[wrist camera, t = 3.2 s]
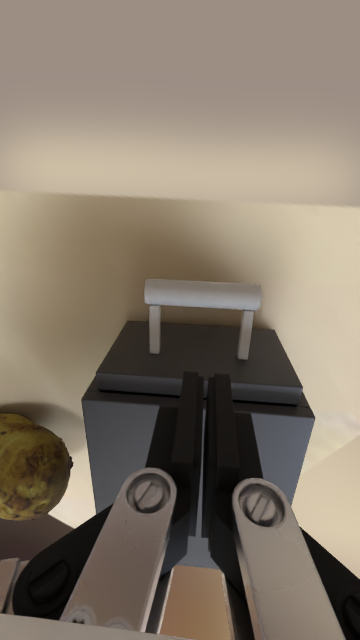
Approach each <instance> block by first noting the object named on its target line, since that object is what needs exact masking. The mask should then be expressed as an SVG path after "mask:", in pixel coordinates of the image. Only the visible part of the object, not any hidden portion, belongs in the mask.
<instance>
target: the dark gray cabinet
mask: <svg viewBox="0 0 360 640" xmlns="http://www.w3.org/2000/svg"><path fill="white" fill-rule="evenodd" d="M179 401H180V398H171V397H158V396H145V395H132V394H118V391H111V390H98V389H97V380H96V376H95V377H94V379H93V381H92V382H91V384H90V386H89V387H88V389H87V391H86V393H85V394H84V396H83V398H82V408H83V416H84V423H85V431H86V439H87V447H88V454H89V462H90V470H91V477H92V485H93V493H94V500H95V508H96V514H98V513H99V512H101V511H102V510H104V509H105V508H107V507H108V506H110V505H111V504H113V503H114V502H115V500H116V498H117V496H118V494H119V491H120V489H121V487H122V485H123V483H124V482H125V480H126V479H127V478H128V477H129V476H130V475H131V474H132V473H134V472H136V471H138V470H140V469H143V468H145V465H146V461H147V457H148V452H149V448H150V444H151V440H152V435H153V431H154V427H155V423H156V418H157V414H158V410H159V406H160V405H163V406H175V407H179ZM206 402H207V400H203V430H202V461H201V476H200V488H199V501H198V513H197V525H196V537H192V536H188V547H187V555H186V556H185V557H183V558H182V559H181V560H180V561H179V562H178V563H177V564H176V565H184V566H193V567H203V568H211V569H220V568H219V567H218V566H217V565H216V563H215V562H214V561H213V560H212V558H211V557H210V552H208V538H201V528H202V486H203V443H204V427H205V415H206ZM233 407H234V412H245V413H251V416H252V420H253V425H254V431H255V436H256V441H257V446H258V452H259V457H260V462H261V468H262V473H263V478H264V480H266V481H269V482H271V483H272V484H274V485H275V486H277V487H278V488H279V489H280V490H281V491H282V492H283V493H284V494H285V496H286V497H287V499H288V501H289V503H290V505H292V501H293V497H294V494H295V490H296V487H297V483H298V479H299V476H300V472H301V468H302V465H303V461H304V457H305V454H306V450H307V446H308V443H309V439H310V435H311V432H312V428H313V424H314V421H315V416H314V414H313V412H312V410H311V408H310V406H309V404H308V402H307V400H306V398H305V395H304V393H303V391H302V394H301V398H300V402H299V404H298V405H296V404H283V403H276V405H263V404H250V403H237V402H233Z"/></svg>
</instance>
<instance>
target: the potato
mask: <svg viewBox="0 0 360 640" xmlns="http://www.w3.org/2000/svg"><path fill="white" fill-rule="evenodd" d="M72 467H73V462H72V457H71V456H69V453H68V450H67V448H66V446H65V443H64V442H63V441H62V439H61V438H59V437H58V436H56V435H55V434H54V433H53V432H51V431H50V430H48V429H46V428H44V427H42V426H39V425H36V424H35V423H34V422H32V421H31V420H29V419H27V418H25V417H23V416H21V415H17V414H0V517H1V518H4V519H11V520H28V519H32V520H34V519H35V518H37V517H39V516H45V515H46V514H48V512H49V511H51V510H52V509H53V508H54V507H55V506H56V505H57V504H58V503H59V502H60V500H61V499H62V497H63V495H64V493H65V491H66V489H67V486H68V481H69V478H70V469H71V468H72Z"/></svg>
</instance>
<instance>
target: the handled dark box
mask: <svg viewBox="0 0 360 640" xmlns="http://www.w3.org/2000/svg"><path fill="white" fill-rule="evenodd" d="M261 299H262V288H261V285H260V284H247V283H228V282H208V281H188V280H169V279H149V278H148V279H146V282H145V287H144V300H145V303H146V304H150V305H149V322H139V321H127V322H126V324H125V325H124V327H123V329H122V330H121V332H120V334H119V335H118V337H117V339H116V340H115V342H114V344H113V345H112V347H111V348H110V350H109V352H108V353H107V355H106V357H105V358H104V360H103V362H102V363H101V365H100V366H99V368H98V370H97V371H96V380H97V389H98V390H111V391H118V394H132V395H145V396H158V397H171V398H180V394H181V387H182V380H183V373H184V371H192V372H198V376H204V395H203V400H207V390H208V378H209V377H214V374H215V373H218V374H229V375H230V381H231V390H232V399H233V402H237V403H250V404H263V405H276V403H283V404H296V405H298V404H299V402H300V398H301V394H302V390H303V387H302V385H301V382H300V380H299V378H298V376H297V374H296V372H295V370H294V368H293V366H292V364H291V362H290V360H289V358H288V356H287V354H286V352H285V350H284V348H283V346H282V344H281V342H280V340H279V338H278V336H277V334H276V332H275V330H272V329H255V328H252V325H253V318H254V310H259V308H260V305H261ZM161 305H170V306H187V307H205V308H223V309H240V310H243V311H242V319H241V327H240V328H239V327H222V326H206V325H189V324H172V323H160V318H161Z"/></svg>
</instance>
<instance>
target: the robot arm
mask: <svg viewBox="0 0 360 640" xmlns="http://www.w3.org/2000/svg"><path fill="white" fill-rule="evenodd" d="M203 395H204V376H198V372H192V371H184V373H183V380H182V387H181V394H180V401H179V407H175V406H163V405H160V406H159V410H158V414H157V418H156V423H155V427H154V431H153V435H152V440H151V444H150V448H149V452H148V457H147V461H146V465H145V468H143V469H140V470H138V471H136V472H134V473H132V474H131V475H130V476H129V477H128V478H127V479H126V480H125V482H124V483H123V485H122V487H121V489H120V491H119V494H118V496H117V498H116V500H115V502H114V503H113V504H111V505H110V506H108V507H107V508H105V509H104V510H102V511H101V512H99V513H98V514H96V515H95V516H93V517H92V518H90V519H89V520H87V521H86V522H84V523H83V524H81V525H80V526H79V527H77V528H76V529H74V530H73V531H71V532H70V533H68V534H67V535H65V536H64V537H62V538H61V539H59V540H58V541H56V542H55V543H53V544H52V545H50V546H49V547H47V548H46V549H44V550H43V551H42V552H40V553H39V554H37V555H36V556H35V557H34V558H33V559H32V560H29V561H22V562H20V560H19V558H13V559H6V560H0V640H194V639H187V638H180V637H173V636H166V635H159V634H160V629H161V625H162V620H163V616H164V612H165V607H166V603H167V598H168V594H169V589H170V585H171V580H172V576H173V570H174V566H175V565H176V564H177V563H178V562H179V561H180V560H181V559H182V558H183V557H185V556H186V555H187V547H188V536H192V537H196V525H197V513H198V501H199V488H200V476H201V461H202V430H203ZM201 538H208V552H210V557H211V558H212V560H213V561H214V562H215V563H216V565H217V566H218V567H219V568H220V570H221V576H222V585H223V592H224V598H225V604H226V611H227V617H228V624H229V630H230V637H231V640H360V579H358V578H357V577H356V576H355V575H354V574H353V573H352V572H351V571H349V570H348V569H347V568H346V567H345V566H344V565H343V564H342V563H340V562H339V561H338V560H337V559H336V558H335V557H333V556H332V555H331V554H330V553H329V552H328V551H327V550H326V549H324V548H323V547H322V546H321V545H320V544H319V543H318V542H317V541H316V540H314V539H313V538H312V537H311V536H310V535H309V534H308V533H306V532H305V531H304V530H303V529H302V528H301V527H300V526H299V525H298V522H297V520H296V517H295V515H294V513H293V510H292V508H291V505H290V503H289V501H288V499H287V497H286V496H285V494H284V493H283V492H282V491H281V490H280V489H279V488H278V487H277V486H275V485H274V484H272V483H271V482H269V481H266V480H264V478H263V473H262V468H261V462H260V457H259V452H258V446H257V441H256V436H255V431H254V425H253V420H252V416H251V413H245V412H234V407H233V399H232V390H231V381H230V375H229V374H218V373H215V374H214V377H209V378H208V390H207V402H206V415H205V427H204V443H203V486H202V528H201Z"/></svg>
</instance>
